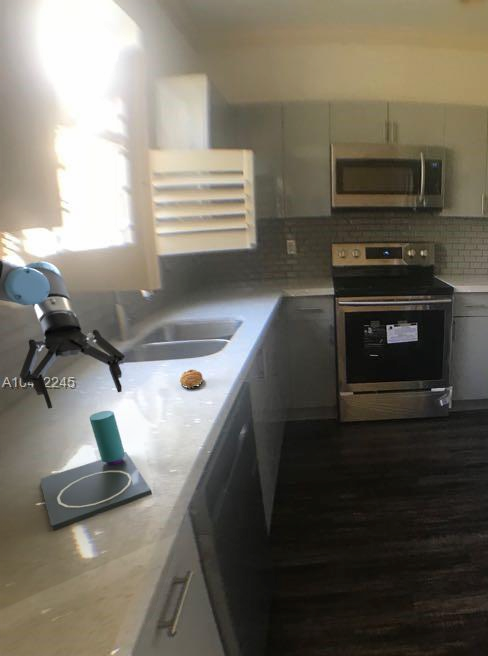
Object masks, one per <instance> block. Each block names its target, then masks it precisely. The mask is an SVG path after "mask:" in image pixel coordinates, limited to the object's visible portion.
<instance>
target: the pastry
mask: <svg viewBox="0 0 488 656" xmlns="http://www.w3.org/2000/svg"><path fill="white" fill-rule="evenodd" d="M202 380H204V377H203V374H202V372H200V371H198V370H197V369H188V370H186V371H184V372H183V373H182V374H181V376H180V378H179V382H180V385H182V384H183V385H184V386H187V387H192V388H194V387H193V386H197V385H199V384H200V383H201V382H202V383H203V381H202Z"/></svg>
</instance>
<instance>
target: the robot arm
mask: <svg viewBox="0 0 488 656" xmlns="http://www.w3.org/2000/svg"><path fill="white" fill-rule="evenodd" d="M0 301H2V302H3V301H4V302H11V303H14V304H18V305H21V306H33V310H34V312H35V315H36V318H37V321H38V323H39V327H40V331H41V333H42V335H43V338H44V339H43V340H39V341H36V340H35V339H29V340H28V347H29V349H28V352H27V355H26V357H25V359H24V363H23V365H22V368H21V371H20V373H19V377H20V381H21V382H22V384H27V383H31V384H32V385H33V387H34V390H35V394H36V395H37V396H42V395H43V396H44V400H45V403H46V406H47V409H48V410H49V409H53V405H52V401H51V399H50V396H49V395H50V394H49V392H48V389H47V386H46V383H45V380H44V376H45V375H46V373H47V372H48V370H49V369H50V367H51V366H52V365H53V363H54V362H55V361H57V359H58V358H59V357H62V358H65V357H68V356H72V355H73V356H75V355H79V354H80V353H81V354H83V355H86V356H90V357H91V358H93V359H96V360H98V361H100V362H101V363H103V364H105V365H107V366H108V371H109V372H110V373H109V374H110V375H111V378H112V380H113V384H114V386H115V388H116V391H117V393H122V388H123V387H122V384H121V381H120V379H121V378H122V376H123V373H122V370H121V367H120V365H123V364H125V362H126V361H125V359H126V357H125V355H124V353H122V352H121V351H120V350H118V349H117V348H116V347H115V346H113V345H112V344H111V343H110V342H109V341H107V339H105V338H104V337H102V335H101V333H100V331H99V330H98V329H93V330H92V332H90V333H85V332H83V330H82V327H81V324H80V321H79V318H78V317H77V314H76V311H75V309H74V306H73V304H72V300H71V298H70V295H69V293H68V289H67V287H66V282H65V280H64V278H63V276H62V274H61V272H60V271H59V269H58V268H57V267H56V266H55V265H53V264H52V263H50V262H46V261H39V262H35V261H34V262H30V263H27V264H26V265H25V266H21V265H17V264H15V263H11V262H9V261H6V260H3V259H0ZM88 341H91V342H92V343H95V344H96V345H97V346H98V347H99V348H101V349H102V350H103V351H102V350H100V349H98V348H96V347H94V346H92V345H91V344H90V343H88ZM42 348H45V349H47V353H46V354H45V355H44V357H43V358H42V359H41V361H40V362H39V364H38V365H37V366H36V368H35V369H34V367H35V364H36V361H37V359H38V354H39V353H40V352H41V351H42Z"/></svg>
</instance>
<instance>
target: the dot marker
mask: <svg viewBox="0 0 488 656" xmlns="http://www.w3.org/2000/svg"><path fill="white" fill-rule="evenodd" d="M89 422H90V425H91V428H92V429H91V430H92V432H93V436H94V439H95V443H96V445H97V449H98V453H99V456H100V460H102V462H105V463H106V464H107V465H115V464H118V463H120V462H121V461H122V460H123V457H124V456H125V453H124V452H125V449H124V447H123V442H122V439H121V433H120V431H119V426H118V423H117V420H116V415H115V412H114V411H112V410H102V411H98V412H95V413H93V414H91V415H90V416H89Z"/></svg>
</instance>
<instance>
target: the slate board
mask: <svg viewBox="0 0 488 656" xmlns="http://www.w3.org/2000/svg"><path fill="white" fill-rule="evenodd" d="M124 453H125V456H124V457H123V460H122V461H121V462H120V463H118V464H115V465H107V464H106V463H105V462H102V460H101V459H98V460H96V461H92V462H89V463H86V464H83V465H79V466H75V467H73V468H70V469H67V470H64V471H60V472H57V473H54V474H51V475H48V476H44V477H40V478H39V482H40V486H41V490H42V494H43V497H44V502H45V505H46V510H47V513H48V517H49V521H50V526H51V529H52V530H53V531H57V530H59V529H61V528H64V527H68V526H69V525H72V524H75V523H77V522H80V521H84V520H86V519H89V518H92V517H94V516H96V515H97V516H98V515H99V514H102V513H104V512H106V511H110V510H112V509H115V508H118V507H121V506H123V505H126V504H129V503H131V502H134V501H136V500H139V499H142V498H145V497H147V496H150V495H152V494H153V493H152V489H151V487H150V486H149V484H148V483H147V481H146V479H144V477H143V475H142V474H141V473H140V471H139V470H138V468H137V466H136V464H135V463H134V461H133V460H132V459H131V457H130V455H129V454H128V453H127V451H124Z"/></svg>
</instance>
